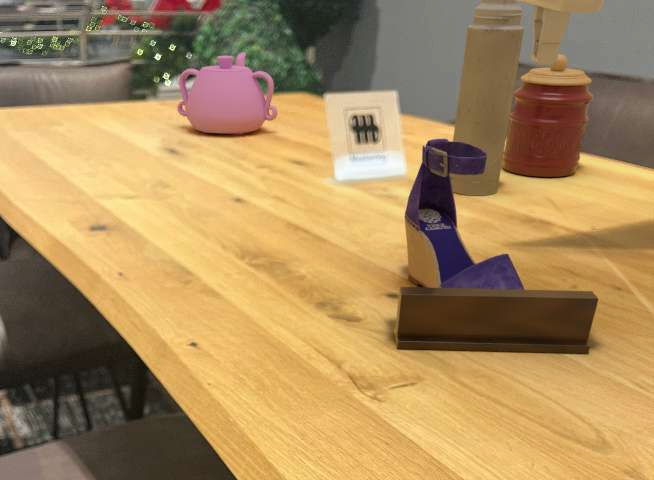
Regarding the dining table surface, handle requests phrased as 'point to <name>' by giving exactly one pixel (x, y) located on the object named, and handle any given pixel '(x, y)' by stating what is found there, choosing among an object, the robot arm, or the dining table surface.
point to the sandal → (448, 225)
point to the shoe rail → (494, 319)
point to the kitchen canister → (548, 121)
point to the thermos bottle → (488, 89)
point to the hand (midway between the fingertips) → (542, 63)
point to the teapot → (226, 98)
